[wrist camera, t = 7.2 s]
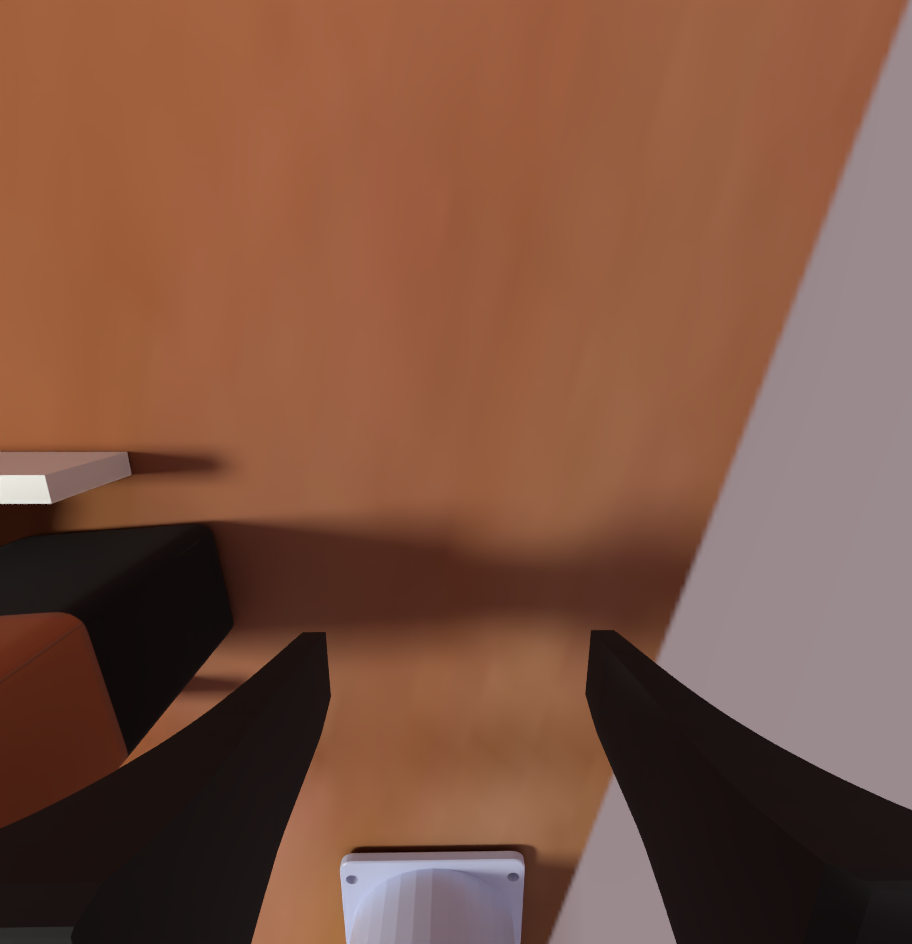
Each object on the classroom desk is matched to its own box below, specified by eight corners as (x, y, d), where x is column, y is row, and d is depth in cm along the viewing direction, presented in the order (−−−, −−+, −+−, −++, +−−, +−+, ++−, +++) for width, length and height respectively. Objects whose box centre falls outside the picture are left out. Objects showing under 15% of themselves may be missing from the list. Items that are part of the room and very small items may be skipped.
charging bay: (174, 692, 17) (108, 771, 13) (0, 694, 17) (-108, 774, 13) (127, 451, 14) (33, 478, 11) (-78, 451, 14) (-231, 478, 11)
